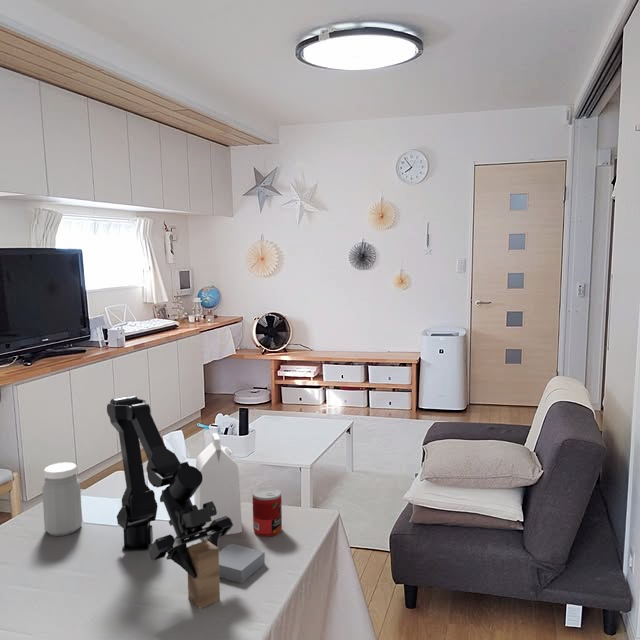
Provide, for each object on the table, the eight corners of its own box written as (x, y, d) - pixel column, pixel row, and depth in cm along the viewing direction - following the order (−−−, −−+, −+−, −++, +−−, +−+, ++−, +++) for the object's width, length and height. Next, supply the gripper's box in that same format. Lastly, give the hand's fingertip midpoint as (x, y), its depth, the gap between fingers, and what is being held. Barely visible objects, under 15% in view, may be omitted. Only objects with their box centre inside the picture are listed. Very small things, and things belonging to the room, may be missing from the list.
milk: (195, 520, 175) (192, 432, 173) (235, 514, 179) (233, 428, 176) (199, 538, 164) (197, 444, 161) (242, 532, 167) (240, 440, 165)
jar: (79, 518, 177) (75, 458, 175) (85, 531, 169) (82, 468, 167) (42, 526, 172) (38, 465, 170) (47, 540, 163) (43, 475, 162)
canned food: (277, 538, 164) (277, 498, 163) (249, 535, 165) (248, 496, 164) (285, 526, 171) (284, 488, 170) (257, 523, 173) (257, 486, 172)
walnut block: (188, 598, 135) (186, 547, 134) (208, 590, 138) (206, 540, 137) (199, 608, 131) (198, 555, 130) (219, 599, 135) (218, 547, 133)
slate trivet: (206, 573, 146) (206, 561, 146) (231, 555, 155) (230, 543, 154) (241, 583, 141) (241, 570, 141) (264, 563, 150) (264, 552, 150)
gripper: (153, 503, 129) (179, 573, 122) (227, 482, 141) (256, 544, 134) (138, 527, 136) (162, 594, 129) (211, 504, 148) (237, 564, 141)
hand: (206, 573), depth 133 cm, fingers closed on walnut block, 5 cm apart
